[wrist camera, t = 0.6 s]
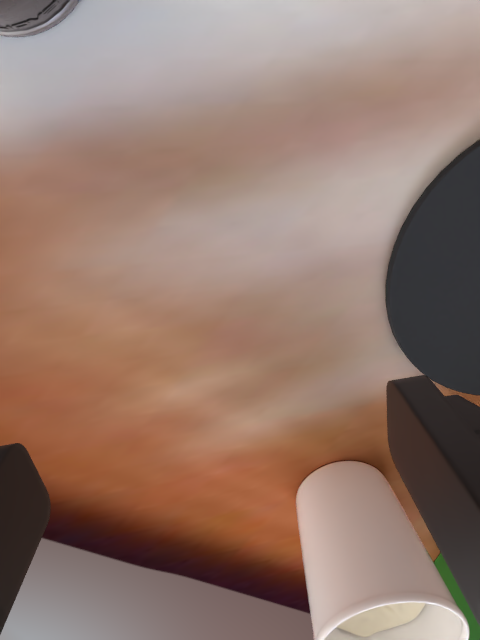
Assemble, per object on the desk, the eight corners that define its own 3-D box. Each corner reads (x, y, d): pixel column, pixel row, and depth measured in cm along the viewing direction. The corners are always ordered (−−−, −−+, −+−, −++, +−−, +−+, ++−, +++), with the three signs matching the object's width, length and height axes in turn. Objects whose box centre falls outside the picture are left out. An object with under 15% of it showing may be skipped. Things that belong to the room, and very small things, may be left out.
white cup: (308, 443, 35) (351, 591, 24) (415, 463, 36) (500, 610, 25) (272, 524, 38) (294, 682, 28) (369, 539, 40) (426, 694, 29)
